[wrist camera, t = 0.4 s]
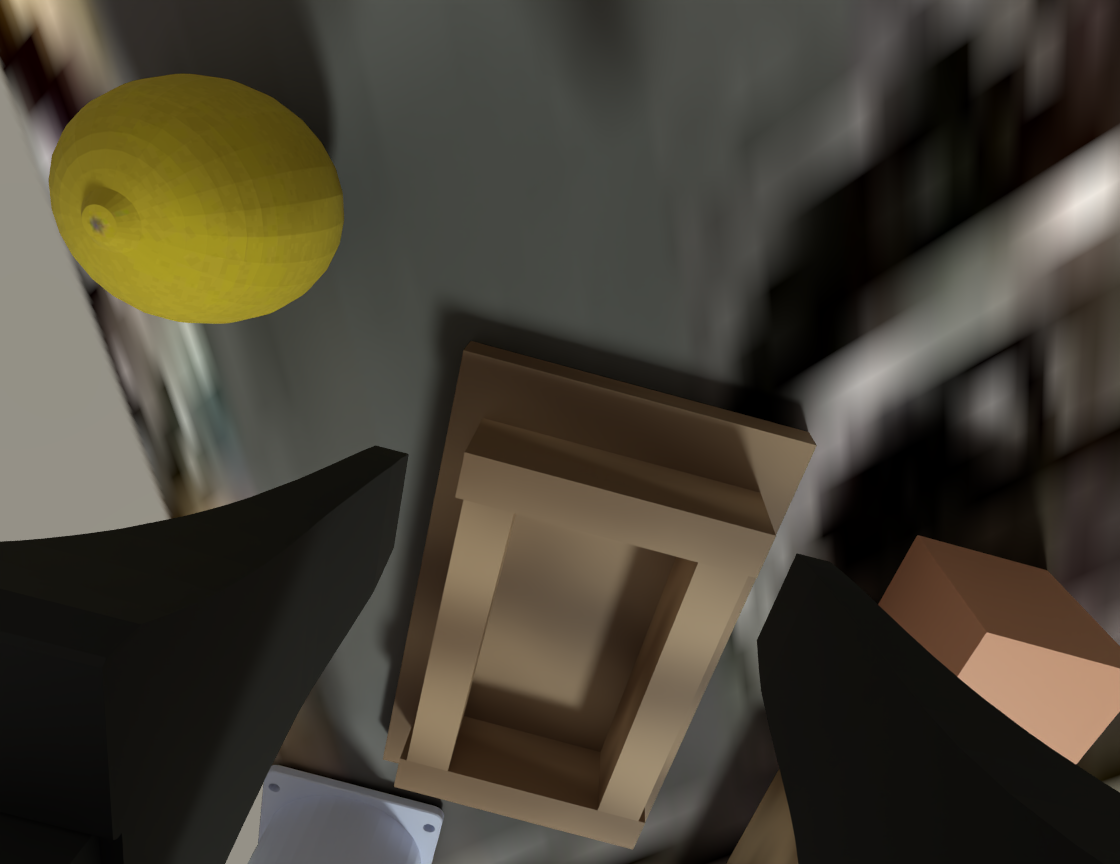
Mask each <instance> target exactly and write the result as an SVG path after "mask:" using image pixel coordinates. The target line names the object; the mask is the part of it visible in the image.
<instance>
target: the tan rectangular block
mask: <svg viewBox="0 0 1120 864" xmlns="http://www.w3.org/2000/svg"><path fill="white" fill-rule="evenodd" d="M878 605H879V606H880V607H881V608H882V609H883V610H884V611H885V612H886V613H887V614H888V615H890V616H891V617H892V618H893V619H894V620H895V621H896V622H897V623H898V624H899V625H900V626H901V627H902V628H903V629H904V630H905V631H907V632H908V633H909V634H910V635H911V636H912V637H913V638H914V639H915V640H916V641H917V642H918V643H920V644H921V645H922V646H923V647H924V648H925V649H926V650H927V651H928V652H930V653H931V654H932V655H933V656H934V657H935V658H936V659H937V660H939V661H940V662H941V663H942V664H943V665H944V666H946V667H947V668H948V669H949V670H950V671H951V672H953V673H954V674H955V675H956V676H957V677H958V678H960V679H961V680H962V681H963V682H964V683H965V684H967V685H968V686H969V687H970V688H971V689H973V690H974V691H975V692H976V693H978V694H979V695H980V696H981V697H983V698H984V699H985V700H986V701H988V702H989V703H990V704H992V705H993V706H994V707H996V708H997V709H998V710H1000V711H1001V712H1002V713H1004V714H1005V715H1006V716H1007V717H1009V718H1010V719H1011V720H1013V721H1014V722H1015V723H1017V724H1018V725H1019V726H1021V727H1022V728H1023V729H1025V730H1026V731H1027V732H1029V733H1030V734H1032V735H1033V736H1034V737H1036V738H1037V739H1039V740H1040V741H1042V742H1043V743H1044V744H1046V745H1047V746H1049V747H1050V748H1052V749H1053V750H1055V751H1056V752H1058V753H1059V754H1061V755H1062V756H1064V757H1065V758H1067V759H1068V760H1070V761H1071V762H1073V763H1074V764H1077V763H1078V761H1079V760H1080V759H1081V758H1082V756H1083V755H1084V754H1085V753H1086V752H1087V750H1088V749H1089V748H1090V747H1091V746H1092V744H1093V743H1094V742H1095V741H1096V739H1097V738H1098V737H1099V736H1100V735H1101V733H1102V732H1103V731H1104V730H1105V728H1106V727H1107V726H1108V725H1109V724H1110V722H1111V721H1112V720H1113V719H1114V717H1115V716H1116V715H1117V714H1118V713H1119V711H1120V646H1119V645H1118V644H1117V643H1116V642H1115V641H1114V640H1113V639H1112V638H1111V637H1110V636H1109V635H1108V634H1107V632H1106V631H1105V630H1104V629H1103V628H1102V627H1101V626H1100V625H1099V624H1098V623H1097V622H1096V621H1095V620H1094V619H1093V618H1092V617H1091V616H1090V615H1089V614H1088V613H1087V612H1086V610H1085V609H1084V608H1083V607H1082V606H1081V605H1080V604H1079V603H1078V602H1077V601H1076V600H1075V599H1074V598H1073V597H1072V596H1071V595H1070V594H1069V593H1068V592H1067V591H1066V590H1065V588H1064V587H1063V586H1062V585H1061V584H1060V583H1059V582H1058V581H1057V580H1056V579H1055V578H1054V577H1053V576H1052V575H1051V574H1050V573H1049V572H1048V571H1047V570H1044V569H1040V568H1037V567H1033V566H1029V565H1026V564H1022V563H1018V562H1015V561H1011V560H1007V559H1004V558H1000V557H996V556H993V555H989V554H985V553H982V552H978V551H974V550H971V549H967V548H963V547H960V546H956V545H952V544H949V543H945V542H941V541H938V540H934V539H930V538H926V537H923V536H919V535H917V537H916V538H915V540H914V542H913V544H912V545H911V547H910V549H909V551H908V552H907V554H906V556H905V558H904V560H903V561H902V563H901V565H900V567H899V568H898V570H897V572H896V574H895V575H894V577H893V579H892V581H891V583H890V584H889V586H888V588H887V590H886V591H885V593H884V595H883V597H882V598H881V600H880V602H879V604H878Z"/></svg>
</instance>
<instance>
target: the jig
mask: <svg viewBox="0 0 1120 864" xmlns="http://www.w3.org/2000/svg"><path fill="white" fill-rule="evenodd" d="M816 446H817V445H816V444H815V442H814V440H813V438H812V437H811V435H810V433H809V432H806V431H803V430H799V429H795V428H791V427H788V426H784V425H780V424H777V423H773V422H769V421H766V420H762V419H758V418H754V417H751V416H747V415H743V414H740V413H736V412H732V411H729V410H725V409H721V408H717V407H714V406H710V405H706V404H703V403H699V402H695V401H692V400H688V399H684V398H680V397H677V396H673V395H669V394H666V393H662V392H658V391H655V390H651V389H647V388H643V387H640V386H636V385H632V384H629V383H625V382H621V381H618V380H614V379H610V378H606V377H603V376H599V375H595V374H592V373H588V372H584V371H581V370H577V369H573V368H569V367H566V366H562V365H558V364H555V363H551V362H547V361H544V360H540V359H536V358H532V357H529V356H525V355H521V354H518V353H514V352H510V351H507V350H503V349H499V348H495V347H492V346H488V345H484V344H481V343H477V342H473V341H470V342H469V344H468V345H467V346H466V348H465V349H464V350H463V355H462V360H461V365H460V370H459V375H458V381H457V386H456V391H455V396H454V401H453V406H452V411H451V416H450V421H449V426H448V431H447V436H446V442H445V447H444V452H443V457H442V462H441V467H440V472H439V477H438V482H437V487H436V492H435V497H434V502H433V508H432V513H431V518H430V523H429V528H428V533H427V538H426V543H425V548H424V553H423V558H422V563H421V569H420V574H419V579H418V584H417V589H416V594H415V599H414V604H413V609H412V614H411V619H410V624H409V630H408V635H407V640H406V645H405V650H404V655H403V660H402V665H401V670H400V675H399V680H398V685H397V690H396V696H395V701H394V706H393V711H392V716H391V721H390V726H389V731H388V736H387V741H386V746H385V751H384V757H383V760H387V761H391V762H395V763H399V765H398V770H397V774H396V779H395V784H394V787H397V788H401V789H405V790H408V791H412V792H416V793H420V794H424V795H428V796H431V797H435V798H439V799H443V800H447V801H450V802H454V803H458V804H462V805H466V806H469V807H473V808H477V809H481V810H485V811H488V812H492V813H496V814H500V815H504V816H507V817H511V818H515V819H519V820H523V821H527V822H530V823H534V824H538V825H542V826H546V827H549V828H553V829H557V830H561V831H565V832H568V833H572V834H576V835H580V836H584V837H587V838H591V839H595V840H599V841H603V842H607V843H610V844H614V845H618V846H622V847H626V848H629V849H633V848H634V846H635V844H636V842H637V840H638V838H639V835H640V833H641V831H642V829H643V827H644V824H645V821H646V819H647V817H648V815H649V812H650V810H651V808H652V806H653V804H654V801H655V799H656V797H657V795H658V793H659V790H660V788H661V786H662V784H663V782H664V779H665V777H666V775H667V773H668V771H669V769H670V766H671V764H672V762H673V760H674V758H675V755H676V753H677V751H678V749H679V747H680V744H681V742H682V740H683V738H684V736H685V733H686V731H687V729H688V727H689V725H690V722H691V720H692V718H693V716H694V714H695V711H696V709H697V707H698V705H699V703H700V700H701V698H702V696H703V694H704V692H705V689H706V687H707V685H708V683H709V681H710V679H711V676H712V674H713V672H714V670H715V668H716V665H717V663H718V661H719V659H720V657H721V654H722V652H723V650H724V648H725V646H726V643H727V641H728V639H729V637H730V635H731V632H732V630H733V628H734V626H735V624H736V621H737V619H738V617H739V615H740V613H741V610H742V608H743V606H744V604H745V602H746V599H747V597H748V595H749V593H750V591H751V588H752V586H753V584H754V582H755V580H756V578H757V576H758V574H759V572H760V570H761V568H762V566H763V563H764V561H765V559H766V557H767V555H768V552H769V550H770V548H771V546H772V544H773V541H774V539H775V537H776V534H777V531H778V529H779V527H780V525H781V523H782V520H783V518H784V516H785V514H786V512H787V509H788V507H789V505H790V503H791V501H792V498H793V496H794V494H795V492H796V490H797V487H798V485H799V483H800V481H801V479H802V477H803V474H804V472H805V470H806V468H807V466H808V463H809V461H810V459H811V457H812V455H813V452H814V450H815V448H816Z"/></svg>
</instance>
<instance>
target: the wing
mask: <svg viewBox="0 0 1120 864" xmlns="http://www.w3.org/2000/svg"><path fill="white" fill-rule="evenodd" d="M726 864H798V858H797V851H796V843H795V836H794V831H793V826H792V821H791V816H790V811H789V806H788V802H787V798H786V794H785V790H784V786H783V782H782V777H781V773H780V769H779V770H778V772H777V774H776V775H775V777H774V779H773V781H772V783H771V784H770V786H769V788H768V790H767V792H766V793H765V795H764V797H763V799H762V801H761V802H760V804H759V806H758V808H757V810H756V811H755V813H754V815H753V817H752V819H751V820H750V822H749V824H748V826H747V828H746V829H745V831H744V833H743V835H742V837H741V838H740V840H739V842H738V844H737V845H736V847H735V849H734V851H733V853H732V854H731V856H730V858H729V860H728V862H727V863H726Z"/></svg>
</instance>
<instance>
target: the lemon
mask: <svg viewBox="0 0 1120 864" xmlns="http://www.w3.org/2000/svg"><path fill="white" fill-rule="evenodd" d="M49 189H50V197H51V206H52V211H53V214H54V217H55V220H56V223H57V226H58V229H59V232H60V234H61V236H62V238H63V239H64V241H65V243H66V245H67V247H68V248H69V250H70V252H71V254H72V255H73V256H74V258H75V259H76V260H77V261H78V262H79V264H80V265H81V266H82V267H83V268H84V270H85V271H86V272H87V273H88V274H89V275H90V277H91V278H92V279H93V280H95V281H96V282H97V283H98V284H99V285H101V286H102V287H103V288H104V289H106V290H107V291H108V292H109V293H110V294H112V295H113V296H115V297H116V298H118V299H120V300H122V301H124V302H126V303H128V304H129V305H131V306H133V307H135V308H137V309H139V310H141V311H143V312H144V313H148V314H152V315H155V316H159V317H162V318H166V319H170V320H174V321H178V322H187V323H213V324H217V323H231V322H237V321H241V320H245V319H250V318H254V317H258V316H262V315H266V314H269V313H272V312H275V311H276V310H278V309H280V308H282V307H283V306H285V305H287V304H288V303H290V302H292V301H293V300H295V299H297V298H299V297H300V296H302V295H303V294H304V293H306V292H307V291H308V290H309V289H310V288H311V287H312V285H313V284H314V283H315V282H316V281H317V280H318V279H319V278H320V277H321V276H322V274H323V273H324V272H325V271H326V270H327V268H328V266H329V264H330V262H331V260H332V258H333V256H334V254H335V252H336V250H337V248H338V246H339V244H340V239H341V233H342V228H343V223H344V208H343V193H342V189H341V186H340V182H339V179H338V175H337V171H336V168H335V166H334V165H333V163H332V161H331V159H330V157H329V155H328V153H327V152H326V150H325V148H324V146H323V144H322V143H321V141H320V140H319V139H318V138H317V137H316V135H315V134H314V133H313V132H312V131H311V130H310V128H309V127H308V126H307V125H306V124H305V123H304V121H303V120H302V119H300V118H299V117H298V116H296V115H295V114H294V113H293V112H291V111H290V110H289V109H287V108H286V107H285V106H283V105H282V104H281V103H279V102H278V101H277V100H275V99H274V98H272V97H270V96H268V95H266V94H264V93H262V92H259V91H257V90H255V89H252V88H250V87H248V86H246V85H243V84H241V83H238V82H236V81H233V80H229V79H223V78H217V77H210V76H203V75H196V74H183V73H182V74H171V75H165V76H158V77H151V78H145V79H140V80H135V81H131V82H128V83H125V84H123V85H121V86H119V87H117V88H115V89H113V90H111V91H109V92H107V93H105V94H103V95H101V96H99V97H98V98H96V99H94V100H92V101H90V102H89V103H88V104H87V105H85V106H84V107H83V108H82V109H81V110H80V111H79V112H78V113H77V115H76V116H75V117H74V118H73V119H72V120H71V121H70V122H69V123H68V124H67V126H66V127H65V129H64V131H63V133H62V135H61V137H60V139H59V141H58V143H57V146H56V148H55V150H54V152H53V155H52V160H51V167H50V175H49Z"/></svg>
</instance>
